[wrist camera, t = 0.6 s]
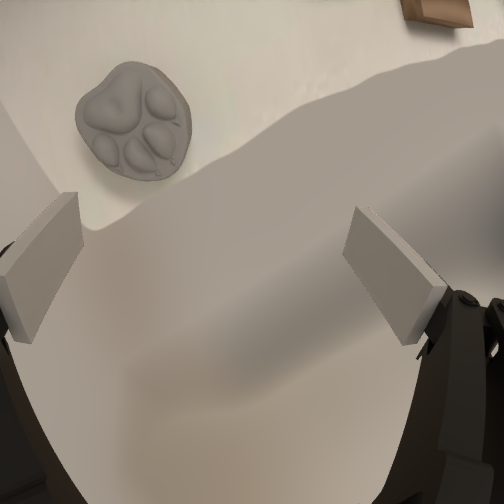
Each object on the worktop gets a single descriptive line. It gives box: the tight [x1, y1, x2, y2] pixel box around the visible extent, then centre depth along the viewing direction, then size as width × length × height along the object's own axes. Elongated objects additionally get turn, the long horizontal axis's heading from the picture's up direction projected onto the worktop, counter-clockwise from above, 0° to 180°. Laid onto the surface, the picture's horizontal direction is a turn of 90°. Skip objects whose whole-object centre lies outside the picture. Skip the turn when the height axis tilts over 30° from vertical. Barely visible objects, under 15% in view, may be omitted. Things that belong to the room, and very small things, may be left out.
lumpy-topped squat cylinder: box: [75, 61, 192, 181], centre depth 30 cm, size 10×13×9 cm
